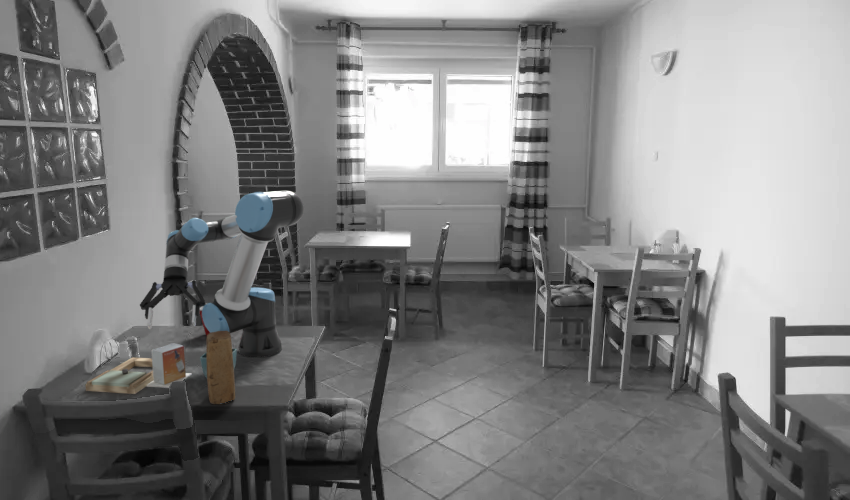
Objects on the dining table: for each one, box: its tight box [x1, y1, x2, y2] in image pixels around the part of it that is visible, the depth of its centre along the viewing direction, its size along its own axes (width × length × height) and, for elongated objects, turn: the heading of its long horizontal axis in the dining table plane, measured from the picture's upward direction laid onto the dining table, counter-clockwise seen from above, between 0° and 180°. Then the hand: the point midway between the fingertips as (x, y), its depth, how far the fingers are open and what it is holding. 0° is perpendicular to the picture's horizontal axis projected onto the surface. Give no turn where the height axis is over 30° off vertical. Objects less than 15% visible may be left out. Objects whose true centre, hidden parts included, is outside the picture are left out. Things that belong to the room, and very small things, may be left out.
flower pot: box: [199, 348, 238, 379], centre depth 184 cm, size 9×9×9 cm
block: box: [205, 331, 236, 405], centre depth 170 cm, size 11×8×20 cm
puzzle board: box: [85, 357, 153, 395], centre depth 186 cm, size 16×23×4 cm
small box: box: [151, 342, 187, 385], centre depth 183 cm, size 8×6×10 cm
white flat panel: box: [145, 372, 193, 389], centre depth 184 cm, size 9×11×1 cm
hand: (171, 325), depth 190 cm, fingers open, 13 cm apart
